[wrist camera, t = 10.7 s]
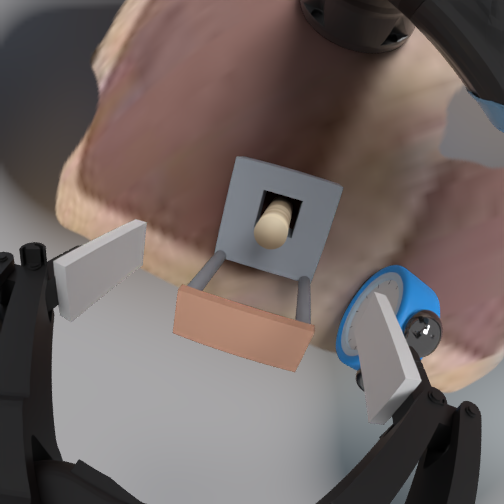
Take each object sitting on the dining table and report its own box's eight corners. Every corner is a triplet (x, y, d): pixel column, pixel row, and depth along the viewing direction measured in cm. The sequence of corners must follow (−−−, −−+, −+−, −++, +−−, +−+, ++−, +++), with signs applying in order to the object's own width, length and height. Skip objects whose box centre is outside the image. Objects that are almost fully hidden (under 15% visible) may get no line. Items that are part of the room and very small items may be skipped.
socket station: (244, 156, 33) (201, 158, 19) (338, 183, 32) (364, 205, 18) (217, 271, 39) (172, 333, 25) (300, 296, 38) (295, 372, 24)
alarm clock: (389, 248, 34) (432, 305, 20) (419, 272, 34) (466, 333, 20) (330, 320, 39) (337, 398, 25) (361, 338, 39) (377, 414, 25)
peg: (273, 193, 34) (258, 212, 23) (295, 200, 34) (291, 222, 23) (267, 214, 35) (250, 243, 24) (288, 221, 35) (281, 253, 24)
